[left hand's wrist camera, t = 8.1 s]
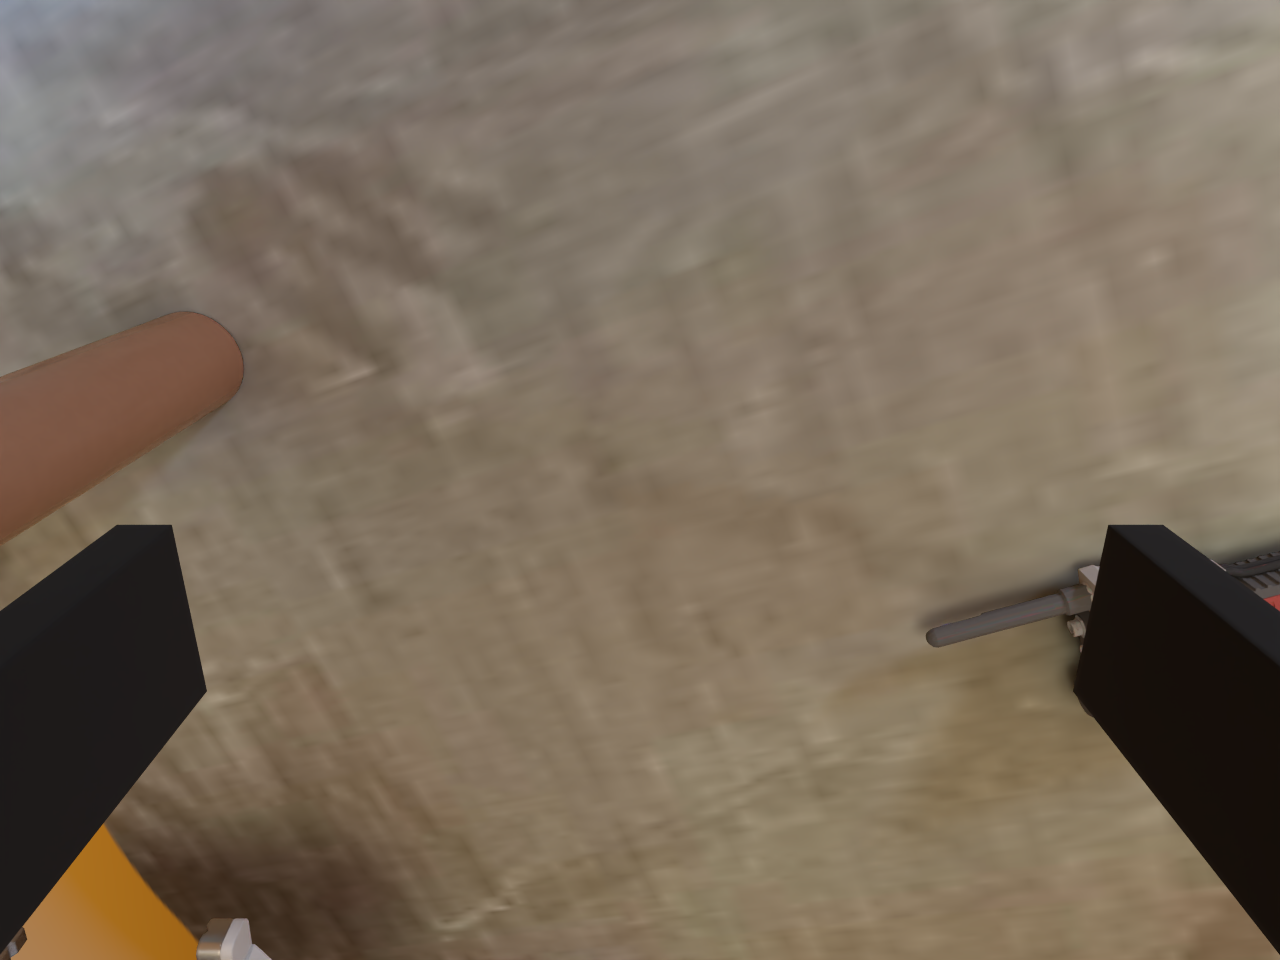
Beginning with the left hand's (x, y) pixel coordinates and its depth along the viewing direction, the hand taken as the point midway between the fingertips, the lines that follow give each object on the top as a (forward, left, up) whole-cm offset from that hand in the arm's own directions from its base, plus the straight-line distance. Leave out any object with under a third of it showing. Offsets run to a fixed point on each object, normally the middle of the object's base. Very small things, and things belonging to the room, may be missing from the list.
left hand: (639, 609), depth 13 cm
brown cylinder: (+3, -20, -28) cm, 35 cm away
